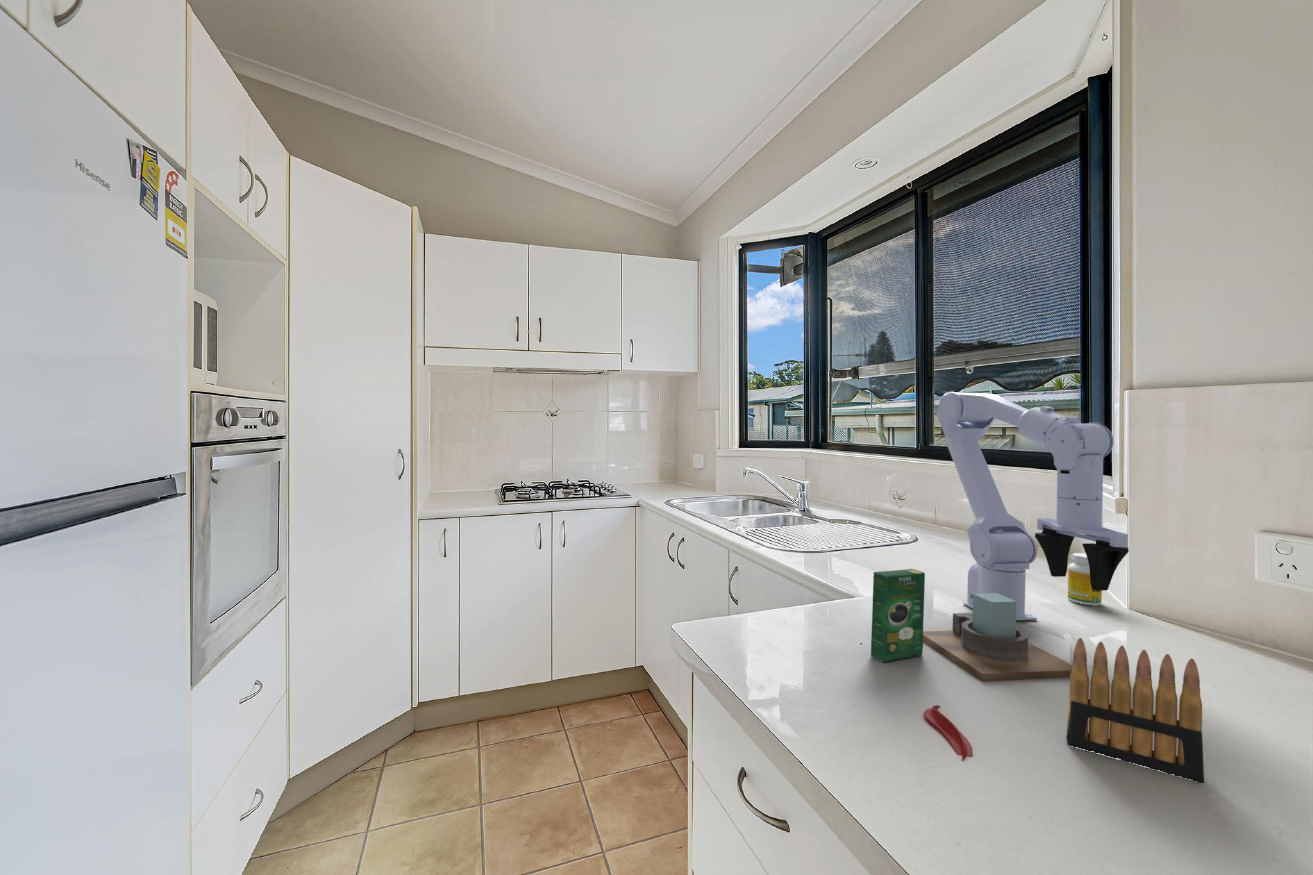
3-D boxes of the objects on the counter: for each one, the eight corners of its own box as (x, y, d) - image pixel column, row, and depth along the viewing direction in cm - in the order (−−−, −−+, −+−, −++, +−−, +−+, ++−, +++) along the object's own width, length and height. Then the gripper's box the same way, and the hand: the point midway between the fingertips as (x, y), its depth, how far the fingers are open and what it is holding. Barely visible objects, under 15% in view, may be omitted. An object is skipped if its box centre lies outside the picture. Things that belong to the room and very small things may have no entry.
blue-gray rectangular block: (972, 644, 83) (973, 593, 83) (995, 643, 83) (996, 593, 83) (990, 655, 79) (991, 602, 79) (1015, 654, 79) (1016, 601, 79)
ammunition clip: (1067, 746, 58) (1070, 638, 58) (1066, 738, 60) (1068, 633, 59) (1204, 784, 52) (1208, 664, 52) (1199, 774, 53) (1202, 657, 53)
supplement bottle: (1073, 596, 110) (1074, 550, 110) (1105, 603, 106) (1106, 556, 105) (1063, 600, 107) (1064, 554, 107) (1095, 608, 103) (1097, 559, 102)
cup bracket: (918, 637, 88) (918, 613, 88) (1002, 634, 89) (1002, 611, 89) (982, 680, 73) (983, 652, 73) (1081, 676, 74) (1082, 648, 74)
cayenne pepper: (922, 704, 67) (922, 689, 67) (963, 713, 65) (964, 697, 65) (925, 758, 56) (925, 740, 56) (975, 770, 54) (975, 752, 54)
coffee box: (910, 648, 83) (911, 566, 83) (925, 656, 81) (926, 571, 80) (869, 655, 81) (870, 571, 80) (883, 663, 78) (885, 576, 78)
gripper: (1020, 492, 91) (1020, 571, 91) (1096, 504, 77) (1095, 597, 77) (1059, 492, 92) (1058, 570, 92) (1141, 504, 77) (1140, 596, 77)
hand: (1078, 582), depth 84 cm, fingers open, 7 cm apart
